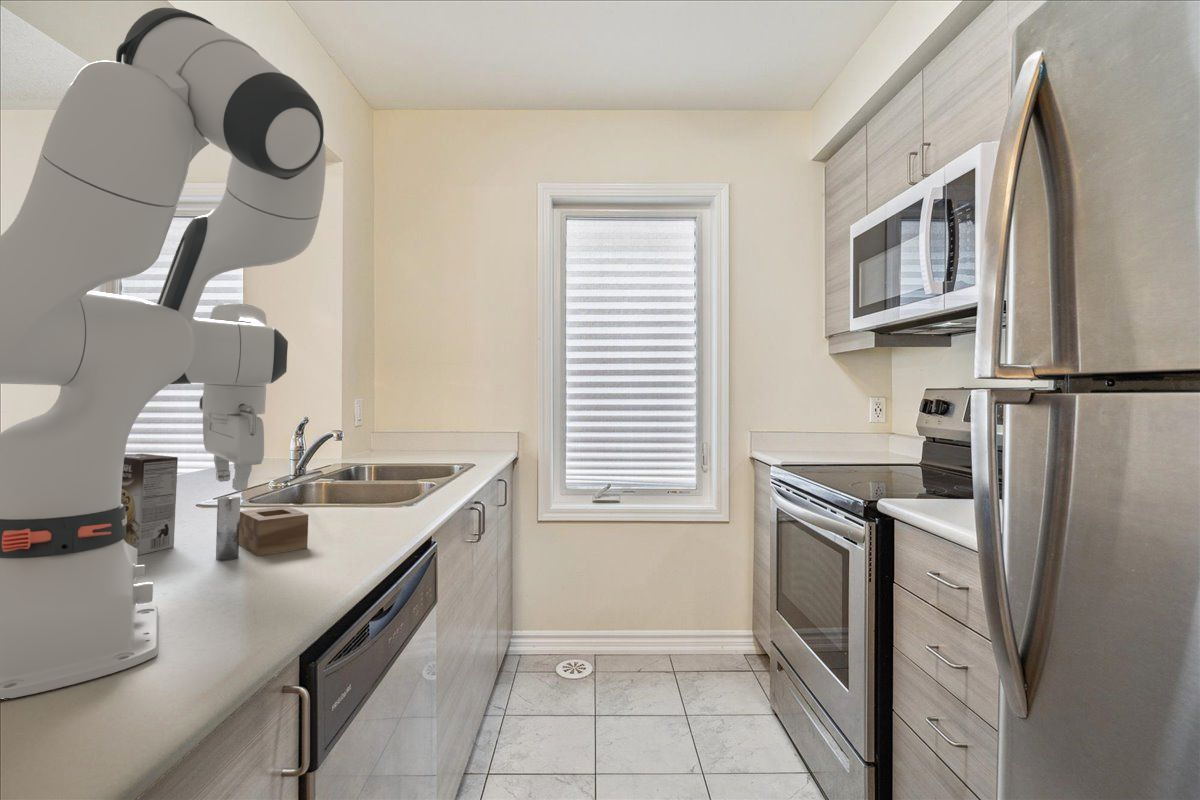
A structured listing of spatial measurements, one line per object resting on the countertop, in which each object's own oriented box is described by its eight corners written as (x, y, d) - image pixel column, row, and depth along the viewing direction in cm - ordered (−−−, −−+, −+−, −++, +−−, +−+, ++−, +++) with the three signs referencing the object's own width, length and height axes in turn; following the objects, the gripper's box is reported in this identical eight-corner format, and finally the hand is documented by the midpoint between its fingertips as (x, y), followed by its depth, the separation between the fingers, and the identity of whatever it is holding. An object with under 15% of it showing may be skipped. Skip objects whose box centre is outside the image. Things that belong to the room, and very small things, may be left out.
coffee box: (99, 550, 98) (101, 455, 98) (139, 541, 104) (141, 452, 104) (137, 556, 95) (140, 458, 95) (176, 546, 102) (179, 455, 101)
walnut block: (307, 547, 104) (308, 514, 104) (258, 555, 98) (259, 520, 98) (285, 537, 110) (286, 506, 110) (238, 544, 104) (239, 511, 104)
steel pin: (241, 558, 96) (243, 498, 96) (219, 561, 94) (220, 500, 94) (235, 554, 98) (236, 495, 98) (213, 557, 96) (215, 497, 96)
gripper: (277, 407, 91) (273, 493, 92) (237, 399, 105) (234, 475, 105) (231, 406, 87) (227, 497, 87) (196, 398, 100) (193, 477, 101)
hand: (230, 485), depth 96 cm, fingers open, 8 cm apart
